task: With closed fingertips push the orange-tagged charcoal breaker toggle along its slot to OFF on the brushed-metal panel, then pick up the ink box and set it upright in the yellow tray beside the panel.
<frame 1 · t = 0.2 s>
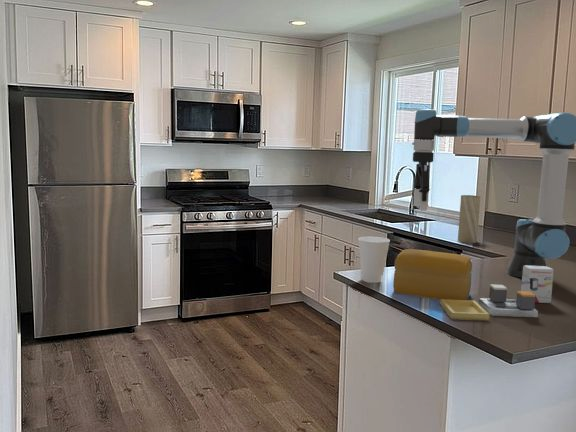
hand: (420, 207, 203), 28 cm above the worktop, fingers open, 13 cm apart
toggle tagged: (525, 300, 166), point 5 cm above the worktop, slide at 0.0 cm
panel: (507, 310, 171), on the worktop
toggle plain: (498, 293, 174), point 5 cm above the worktop, slide at 6.0 cm
bread: (431, 294, 188), on the worktop
tube: (467, 241, 294), on the worktop
cup: (371, 281, 203), on the worktop
ink box: (535, 301, 182), on the worktop
yellow tray: (463, 312, 167), on the worktop
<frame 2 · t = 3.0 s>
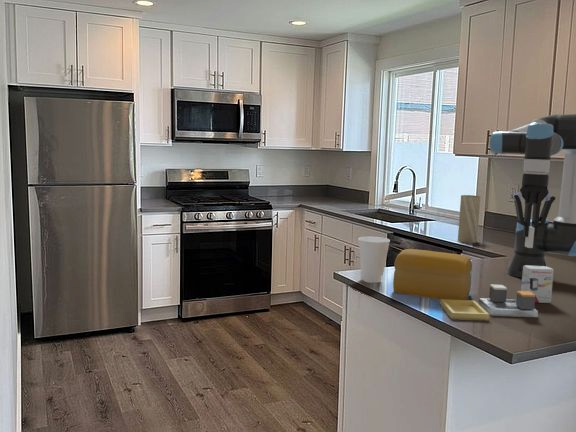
hand: (528, 247, 171), 20 cm above the worktop, fingers closed
nothing on the worktop moved.
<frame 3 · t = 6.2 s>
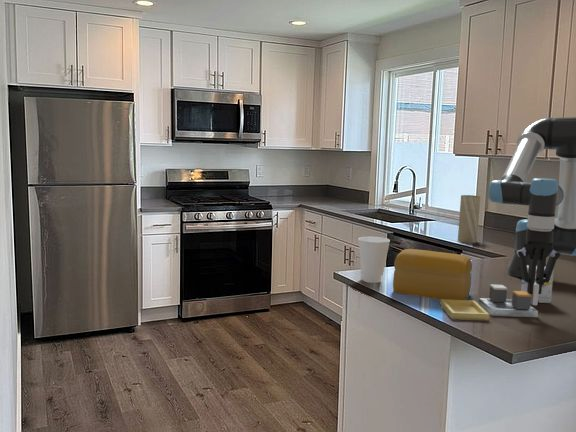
hand: (533, 303, 166), 4 cm above the worktop, fingers closed
toggle tagged: (521, 299, 166), point 5 cm above the worktop, slide at 1.3 cm, touching gripper
everything else where it was.
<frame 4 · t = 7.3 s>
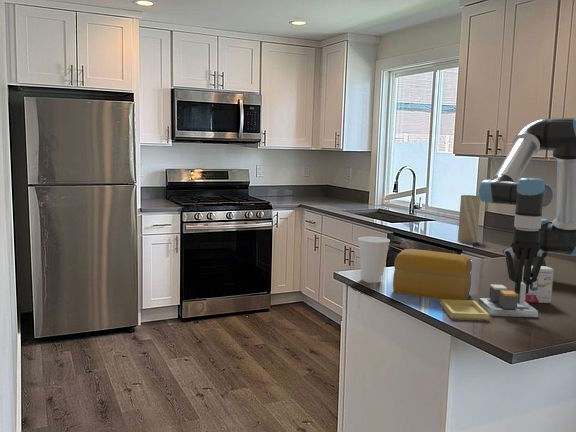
hand: (520, 303, 167), 3 cm above the worktop, fingers closed
toggle tagged: (508, 299, 167), point 5 cm above the worktop, slide at 5.3 cm, touching gripper
everything else where it was.
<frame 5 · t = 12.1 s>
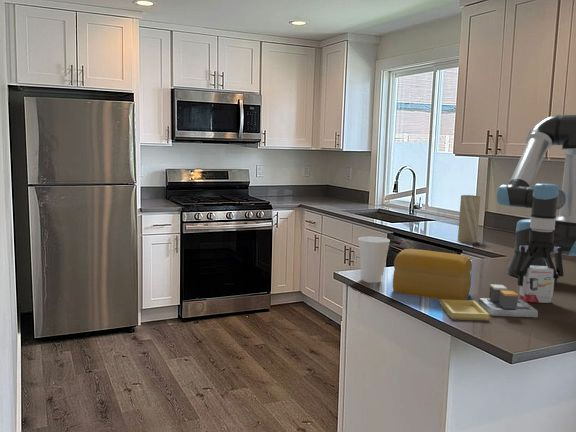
hand: (535, 295, 182), 2 cm above the worktop, fingers closed on ink box, 9 cm apart
toggle tagged: (508, 299, 167), point 5 cm above the worktop, slide at 5.3 cm
ink box: (535, 301, 182), on the worktop, touching gripper
everything else where it was.
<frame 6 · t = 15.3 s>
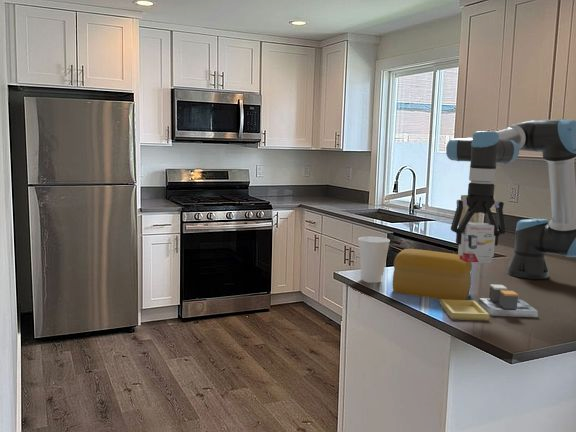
hand: (475, 255, 166), 18 cm above the worktop, fingers closed on ink box, 9 cm apart
ink box: (475, 261, 166), point 16 cm above the worktop, touching gripper
everything else where it was.
when the fingers open (4 cm above the worktop, at t = 18.7 s): ink box drops 1 cm, resting on yellow tray.
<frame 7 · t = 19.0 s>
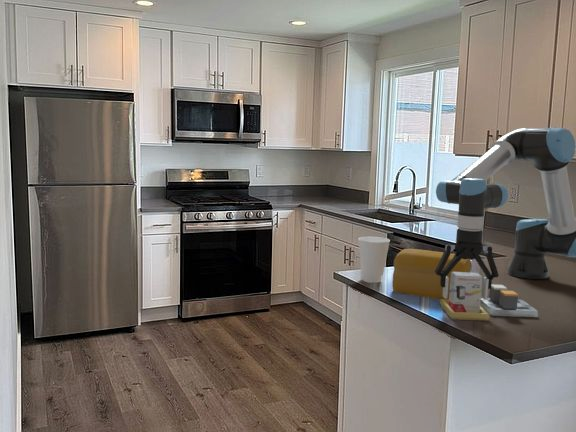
hand: (464, 298, 166), 5 cm above the worktop, fingers open, 11 cm apart
ink box: (463, 311, 167), resting on yellow tray
everything else where it was.
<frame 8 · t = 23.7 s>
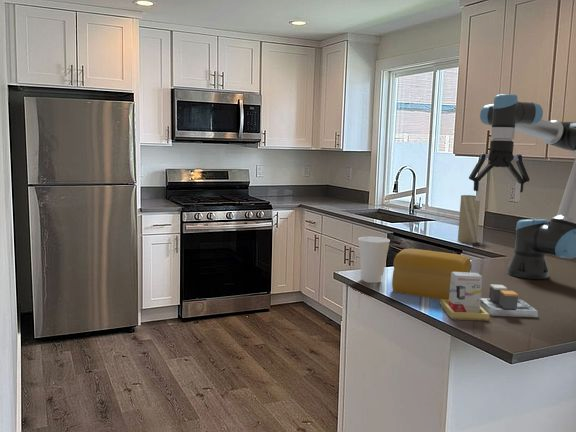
hand: (497, 201, 188), 33 cm above the worktop, fingers open, 13 cm apart
nothing on the worktop moved.
at the end: toggle tagged slide at 5.3 cm; ink box inside the target area on the yellow tray (0.1 cm from its centre), point 0.4 cm above the yellow tray's base; ink box tilted 0° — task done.
